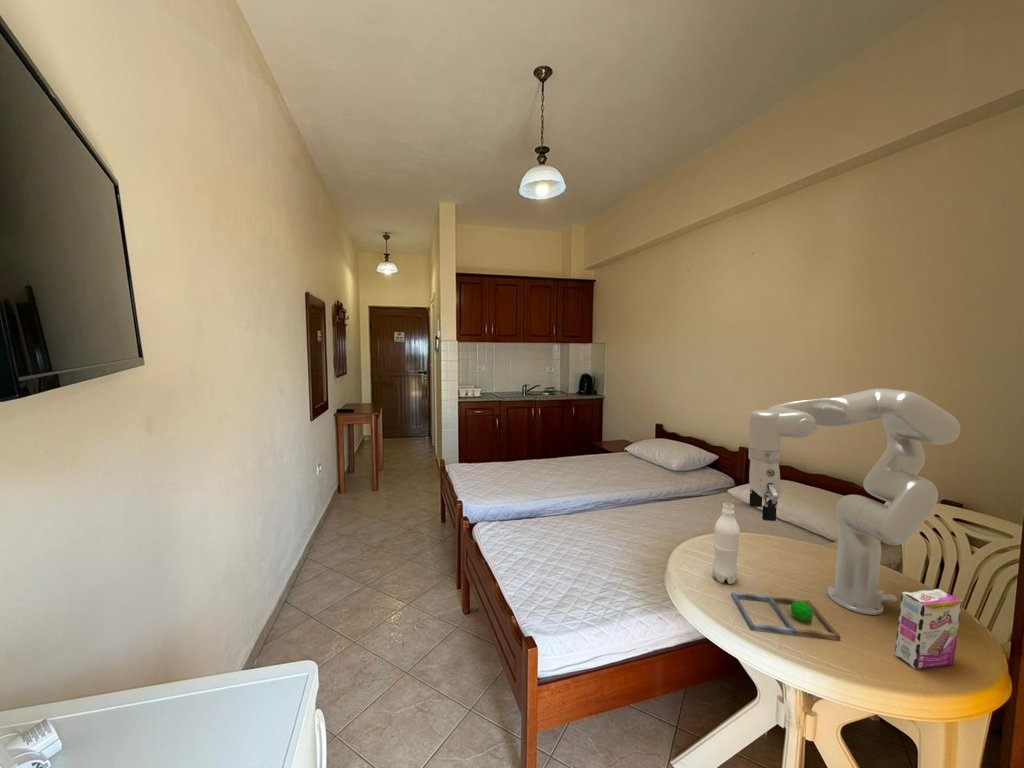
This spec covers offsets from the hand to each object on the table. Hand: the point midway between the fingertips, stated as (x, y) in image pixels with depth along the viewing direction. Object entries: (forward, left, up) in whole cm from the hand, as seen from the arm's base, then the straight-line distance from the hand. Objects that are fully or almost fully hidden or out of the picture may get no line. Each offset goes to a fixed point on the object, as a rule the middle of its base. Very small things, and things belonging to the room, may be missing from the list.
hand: (762, 513), depth 115 cm
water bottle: (+5, -12, -28) cm, 31 cm away
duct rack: (-5, +5, -28) cm, 28 cm away
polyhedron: (-10, +5, -28) cm, 30 cm away
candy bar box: (-31, +16, -28) cm, 44 cm away
